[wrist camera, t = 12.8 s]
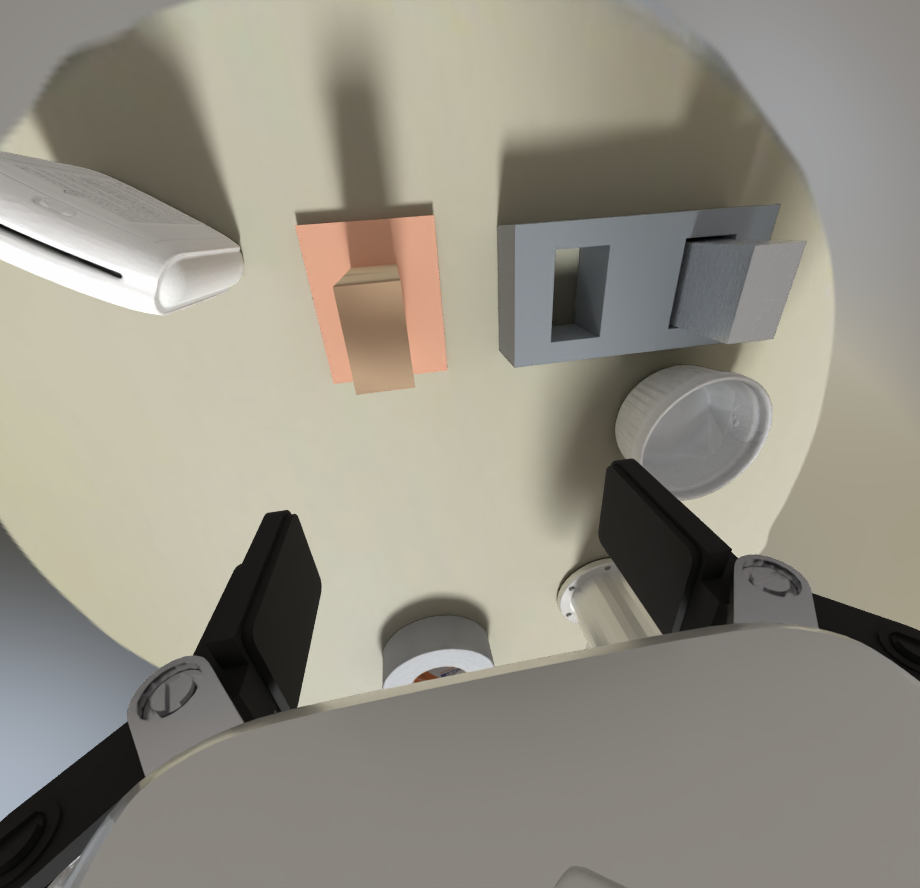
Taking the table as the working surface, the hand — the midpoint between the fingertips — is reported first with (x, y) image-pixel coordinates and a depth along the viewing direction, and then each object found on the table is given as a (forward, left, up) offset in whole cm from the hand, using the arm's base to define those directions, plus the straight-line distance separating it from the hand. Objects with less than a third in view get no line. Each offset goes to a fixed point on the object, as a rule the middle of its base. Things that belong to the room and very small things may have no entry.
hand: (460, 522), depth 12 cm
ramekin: (-12, -25, -25) cm, 38 cm away
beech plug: (+2, +2, -24) cm, 25 cm away
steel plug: (+2, -22, -25) cm, 34 cm away
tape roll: (-46, +3, -26) cm, 52 cm away
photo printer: (+8, +17, -25) cm, 31 cm away
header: (+2, -17, -25) cm, 31 cm away
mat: (+2, +3, -25) cm, 25 cm away
